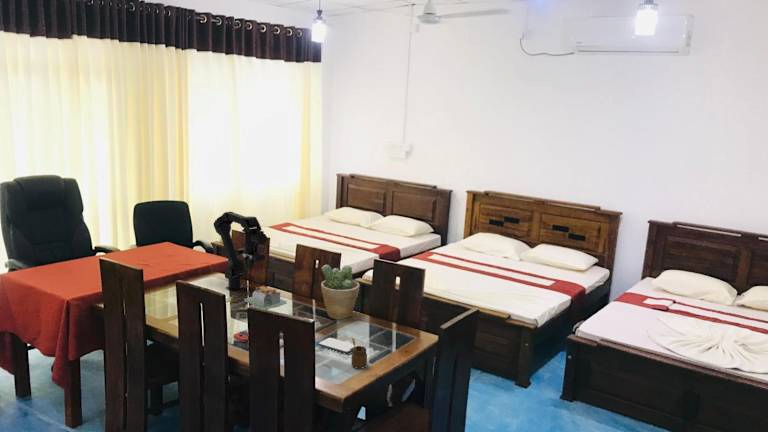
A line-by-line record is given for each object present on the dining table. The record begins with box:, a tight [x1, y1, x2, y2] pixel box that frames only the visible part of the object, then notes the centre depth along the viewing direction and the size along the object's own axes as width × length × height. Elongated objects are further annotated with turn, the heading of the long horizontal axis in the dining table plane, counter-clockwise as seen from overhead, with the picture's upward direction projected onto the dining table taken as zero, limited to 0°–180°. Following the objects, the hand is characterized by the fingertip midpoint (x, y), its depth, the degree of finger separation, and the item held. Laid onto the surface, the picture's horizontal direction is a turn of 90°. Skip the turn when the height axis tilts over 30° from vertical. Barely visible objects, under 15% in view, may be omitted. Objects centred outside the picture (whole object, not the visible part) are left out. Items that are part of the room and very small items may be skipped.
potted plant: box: [320, 264, 360, 320], centre depth 272 cm, size 18×19×25 cm
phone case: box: [317, 337, 359, 355], centre depth 237 cm, size 9×2×16 cm
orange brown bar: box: [257, 285, 277, 294], centre depth 286 cm, size 12×3×2 cm, turn 50°
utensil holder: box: [351, 337, 368, 369], centre depth 220 cm, size 6×6×12 cm
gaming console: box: [233, 329, 249, 344], centre depth 249 cm, size 24×3×10 cm
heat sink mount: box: [243, 285, 287, 310], centre depth 288 cm, size 17×13×7 cm
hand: (250, 270), depth 297 cm, fingers closed
